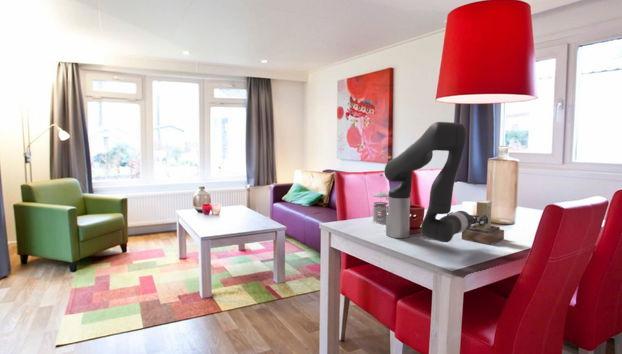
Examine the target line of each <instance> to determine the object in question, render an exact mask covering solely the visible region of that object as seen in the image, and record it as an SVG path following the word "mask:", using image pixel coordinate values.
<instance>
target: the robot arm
mask: <svg viewBox="0 0 622 354" xmlns="http://www.w3.org/2000/svg"><path fill="white" fill-rule="evenodd" d="M466 138H467V132H466V128H465V126H464V125H463V124H462V123H460V122H450V121H449V122H448V121H447V122H446V121H435V122H434V123H432V124H430V125H429V127H428V128H427V129H426V130H425V132H424V133H423V134H422V135H421V136H420V137H419V138H418V139H417V140H416V141H414V143H412V144H411V145H409V146H408V147H407V148H406V149H405V150H404V151H403V152H401V153H400V154H399V155H398V156H396V157H395V158H392V159H390V160H388V162H387V163H386V164H385V166H384V176H385V178H386V180H388V181H389V182H392V183H393V182H400V183H399V184H398V185H397V186H396V187H394V188H391V189H390V190H388V195H389V197H388V198H389V199H388V198H387V201H388V202H387V203H388V204H387V206H388V213H387V212H386V213H387V214H386V223H385V235H386V236H388V237H391V238H394V239H406V238H410V233H409V229H410V216H411V214H410V205H411V192H412V185H413V184H412V182H413V172H414V171H417V170H420V169H422V168H423V167H426V165H428V164H429V163H430V162H431V161H432V159H433V151H443V152H444V151H446V152H448V155H447V159H446V161H445V163H444V166H443V167H442V169H441V170H440V172H439V173H438V175H437V176H436V177H435V178H434V180H433V182H432V184H431V187H430V192H429V200H428V201H429V202H428V206H427V210H426V213H425V214H424V218H423V222H422V225H421V226H420V227H421V231H420V232H421V234H422V236H423V237H424V238H427V239H430V240H434V241H437V242H440V243H449V242H450V241H452V239H453V237H454V236H455V235H456V234H460V233H461V234H462V232H463V231H465V230H467V229H469V228H470V227H471V226H472V225H475V224H479V225H480V226H483V225H486V224H488V217H487V216H486V215H482V216H478V215H476V214H469V213H468V212H467V211H464V210H457V211H454V212H451V209H452V202H453V191H454V187H455V186H454V185H455V181H456V177H457V173H458V170H459V166H460V163H461V159H462V156H463V153H464V148H465V144H466ZM437 215H444V216H443V217H441V218H439V219H438V218H437Z"/></svg>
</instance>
